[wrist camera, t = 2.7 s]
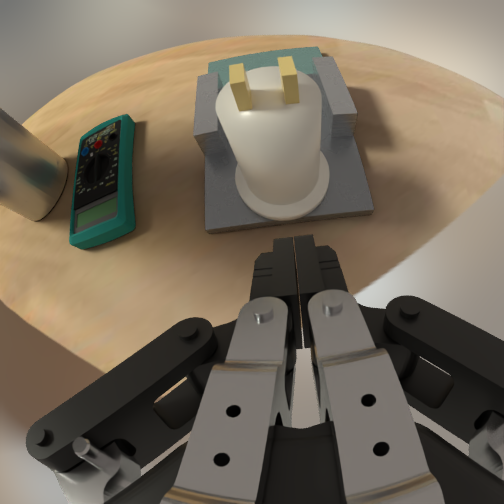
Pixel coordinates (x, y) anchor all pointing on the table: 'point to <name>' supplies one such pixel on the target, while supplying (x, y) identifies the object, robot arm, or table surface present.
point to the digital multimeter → (103, 184)
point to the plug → (275, 138)
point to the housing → (332, 144)
